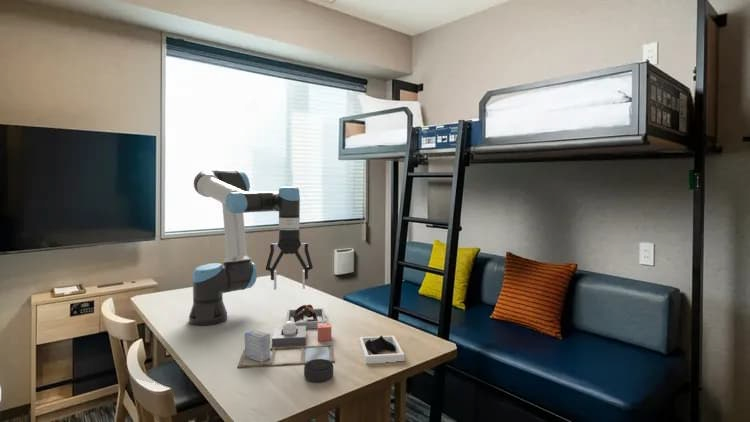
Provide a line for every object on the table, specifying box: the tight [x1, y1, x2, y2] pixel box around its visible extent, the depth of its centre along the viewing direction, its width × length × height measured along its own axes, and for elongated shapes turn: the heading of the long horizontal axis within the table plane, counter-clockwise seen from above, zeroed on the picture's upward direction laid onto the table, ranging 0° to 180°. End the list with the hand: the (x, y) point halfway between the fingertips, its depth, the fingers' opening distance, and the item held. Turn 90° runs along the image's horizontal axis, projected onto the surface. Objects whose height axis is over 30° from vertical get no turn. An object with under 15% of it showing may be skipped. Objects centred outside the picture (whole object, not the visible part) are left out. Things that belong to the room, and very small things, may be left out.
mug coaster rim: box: [285, 307, 327, 330], centre depth 178 cm, size 16×18×2 cm
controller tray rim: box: [358, 335, 405, 365], centre depth 147 cm, size 13×17×2 cm
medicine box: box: [244, 328, 271, 363], centre depth 141 cm, size 8×4×9 cm, turn 58°
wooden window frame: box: [237, 344, 336, 369], centre depth 143 cm, size 31×14×1 cm, turn 99°
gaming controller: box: [365, 335, 395, 355], centre depth 147 cm, size 11×4×7 cm
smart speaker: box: [303, 359, 334, 383], centre depth 129 cm, size 9×9×4 cm
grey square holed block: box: [271, 326, 307, 348], centre depth 158 cm, size 12×12×3 cm
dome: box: [282, 320, 296, 335], centre depth 157 cm, size 5×5×6 cm
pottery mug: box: [293, 304, 319, 322], centre depth 178 cm, size 12×10×8 cm
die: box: [317, 321, 332, 342], centre depth 160 cm, size 5×5×6 cm
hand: (289, 288), depth 156 cm, fingers open, 10 cm apart
